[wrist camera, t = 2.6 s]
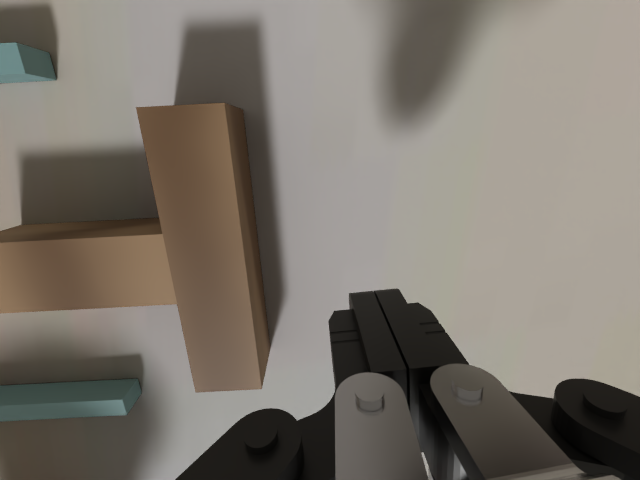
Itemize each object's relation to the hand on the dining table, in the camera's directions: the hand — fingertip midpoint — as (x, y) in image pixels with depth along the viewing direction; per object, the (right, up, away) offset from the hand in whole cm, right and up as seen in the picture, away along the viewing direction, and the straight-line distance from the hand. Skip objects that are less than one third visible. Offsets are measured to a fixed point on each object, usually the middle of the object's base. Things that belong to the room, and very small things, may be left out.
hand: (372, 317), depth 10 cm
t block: (-10, +2, +6) cm, 12 cm away
